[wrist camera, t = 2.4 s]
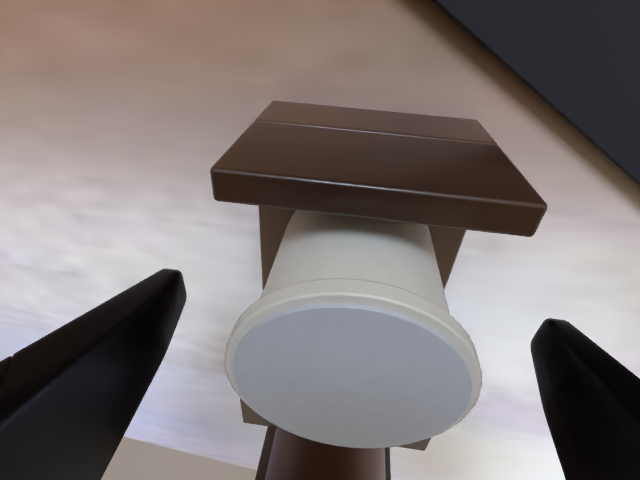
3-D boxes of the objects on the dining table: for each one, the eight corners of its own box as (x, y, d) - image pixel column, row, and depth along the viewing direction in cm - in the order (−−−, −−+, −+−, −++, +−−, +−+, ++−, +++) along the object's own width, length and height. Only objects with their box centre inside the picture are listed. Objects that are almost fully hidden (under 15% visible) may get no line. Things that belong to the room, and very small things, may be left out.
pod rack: (478, 119, 10) (551, 205, 6) (385, 408, 19) (389, 520, 15) (272, 99, 10) (208, 168, 6) (277, 392, 19) (252, 497, 15)
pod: (415, 399, 15) (430, 540, 11) (345, 439, 17) (338, 563, 14) (317, 347, 14) (295, 485, 10) (258, 398, 16) (224, 522, 12)
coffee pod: (479, 237, 10) (548, 390, 6) (369, 327, 13) (369, 472, 9) (336, 134, 9) (307, 244, 5) (248, 258, 11) (185, 391, 8)
